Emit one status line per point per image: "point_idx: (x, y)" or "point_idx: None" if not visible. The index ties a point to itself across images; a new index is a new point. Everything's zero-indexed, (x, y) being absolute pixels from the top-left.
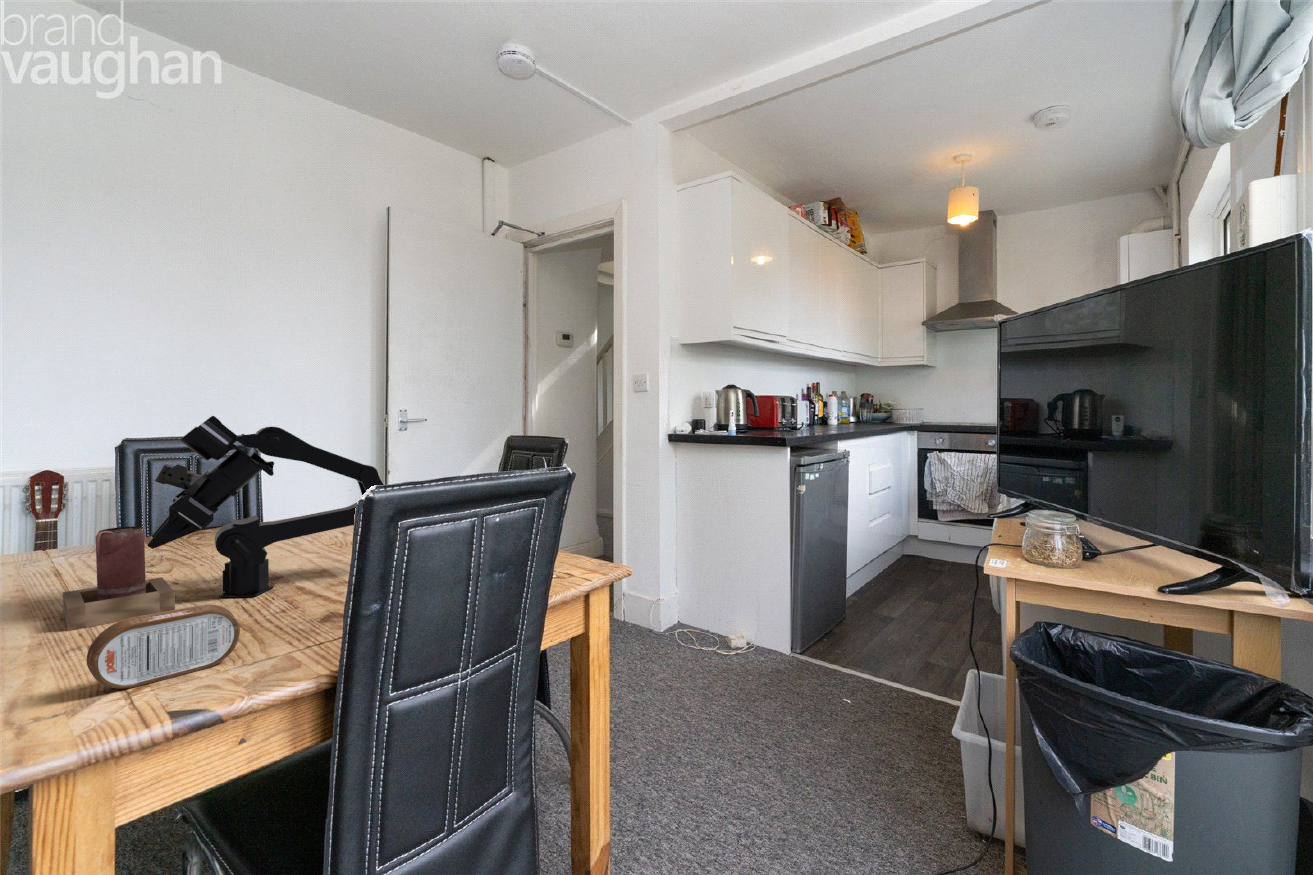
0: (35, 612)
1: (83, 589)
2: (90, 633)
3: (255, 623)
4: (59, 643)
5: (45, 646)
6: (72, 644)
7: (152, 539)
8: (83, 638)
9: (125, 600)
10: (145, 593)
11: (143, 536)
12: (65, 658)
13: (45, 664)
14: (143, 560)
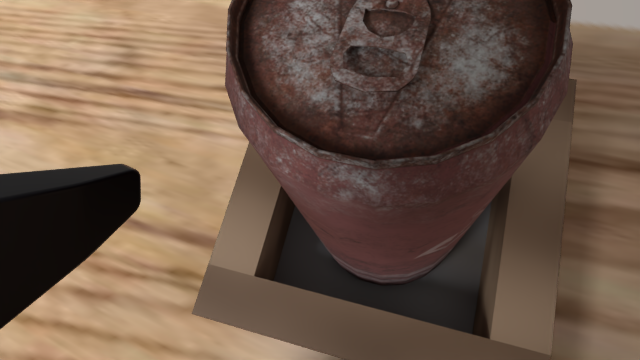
0: (629, 75)
1: (564, 132)
2: (220, 104)
3: None
4: (204, 49)
5: (210, 29)
6: (168, 62)
7: (64, 171)
8: (192, 85)
9: (241, 168)
10: (259, 235)
11: (303, 191)
12: (85, 35)
13: (87, 9)
14: (318, 231)
